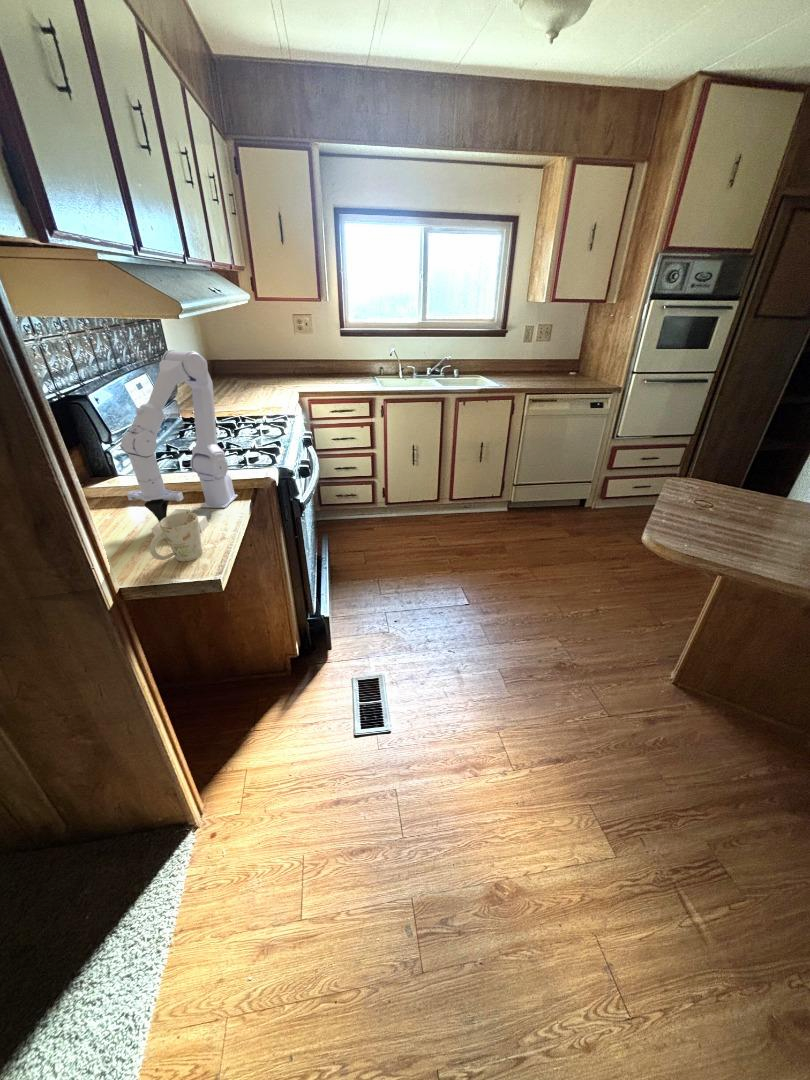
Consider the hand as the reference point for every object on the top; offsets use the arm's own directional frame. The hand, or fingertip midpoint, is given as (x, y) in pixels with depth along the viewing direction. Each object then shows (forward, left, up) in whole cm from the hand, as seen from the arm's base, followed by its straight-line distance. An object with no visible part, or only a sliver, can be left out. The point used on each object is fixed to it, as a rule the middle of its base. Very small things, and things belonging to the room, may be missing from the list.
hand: (164, 523), depth 119 cm
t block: (0, +6, -1) cm, 6 cm away
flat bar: (0, +8, -1) cm, 8 cm away
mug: (+16, +14, -2) cm, 21 cm away
